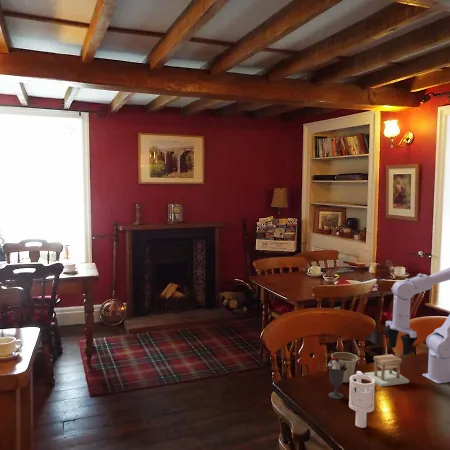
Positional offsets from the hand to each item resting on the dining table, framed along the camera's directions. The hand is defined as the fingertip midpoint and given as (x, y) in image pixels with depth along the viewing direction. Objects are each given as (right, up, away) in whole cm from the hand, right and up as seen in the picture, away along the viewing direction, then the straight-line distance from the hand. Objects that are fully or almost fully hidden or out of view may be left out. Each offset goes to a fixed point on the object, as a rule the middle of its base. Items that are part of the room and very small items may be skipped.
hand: (399, 351), depth 167 cm
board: (-5, -10, 0) cm, 11 cm away
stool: (-5, -9, 0) cm, 10 cm away
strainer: (-24, -13, -33) cm, 43 cm away
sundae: (-27, -12, -14) cm, 32 cm away
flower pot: (-20, -11, 0) cm, 23 cm away
